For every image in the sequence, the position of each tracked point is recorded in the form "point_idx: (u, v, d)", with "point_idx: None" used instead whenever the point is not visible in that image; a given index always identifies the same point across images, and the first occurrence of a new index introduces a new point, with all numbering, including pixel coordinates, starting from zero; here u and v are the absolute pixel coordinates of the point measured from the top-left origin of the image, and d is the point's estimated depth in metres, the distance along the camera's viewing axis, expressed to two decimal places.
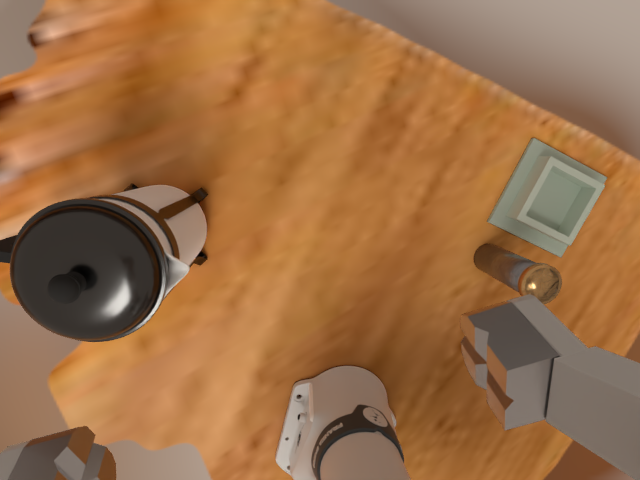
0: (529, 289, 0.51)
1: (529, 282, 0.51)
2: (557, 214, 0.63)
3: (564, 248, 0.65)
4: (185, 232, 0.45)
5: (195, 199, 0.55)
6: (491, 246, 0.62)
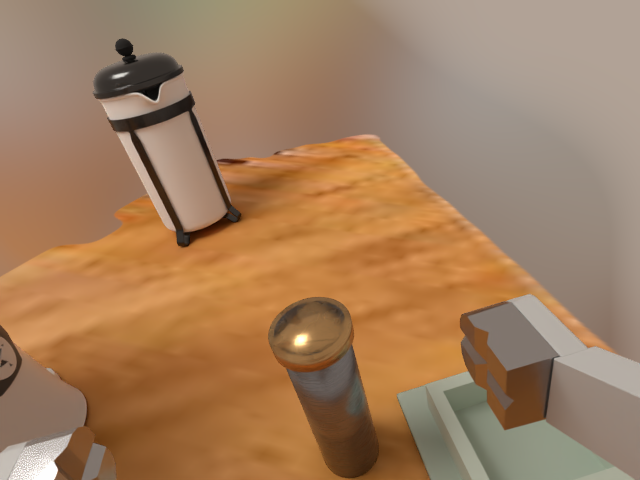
0: (288, 318, 0.26)
1: (299, 309, 0.26)
2: None
3: None
4: (189, 148, 0.60)
5: (227, 202, 0.67)
6: None
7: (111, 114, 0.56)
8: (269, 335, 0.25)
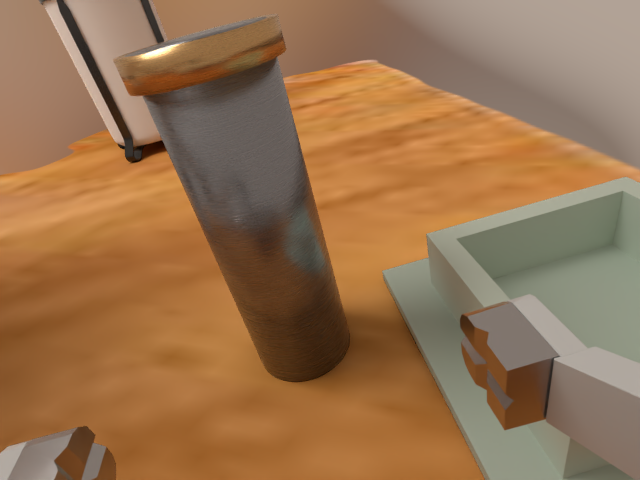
0: (167, 41, 0.14)
1: (191, 34, 0.14)
2: None
3: None
4: (135, 29, 0.48)
5: None
6: None
7: None
8: (120, 56, 0.13)
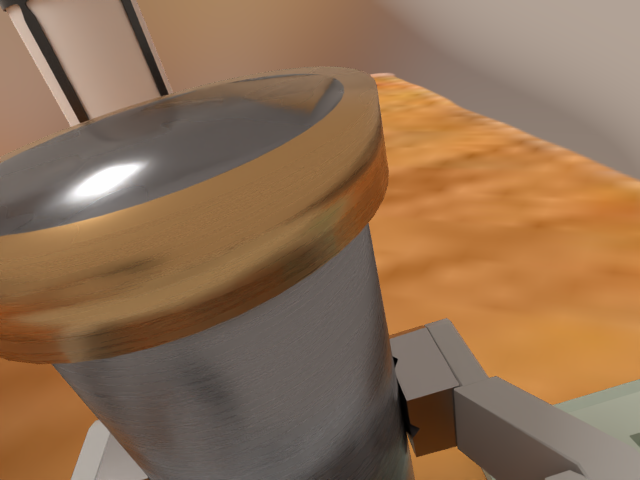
0: (93, 128, 0.06)
1: (153, 106, 0.06)
2: None
3: None
4: (117, 41, 0.40)
5: None
6: None
7: None
8: None
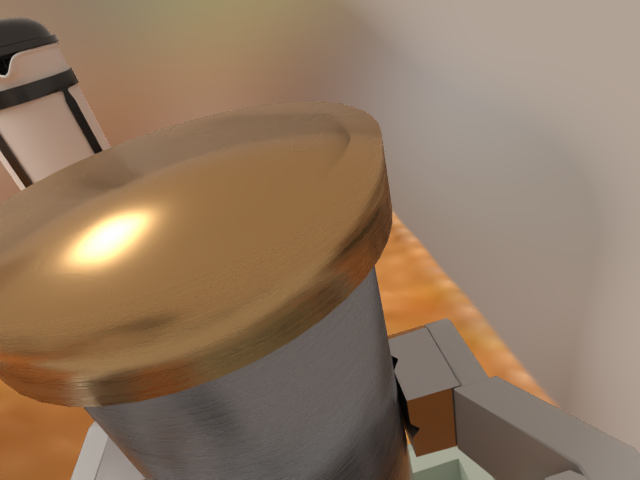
0: (107, 163, 0.06)
1: (164, 139, 0.06)
2: None
3: None
4: (65, 138, 0.48)
5: None
6: None
7: None
8: None
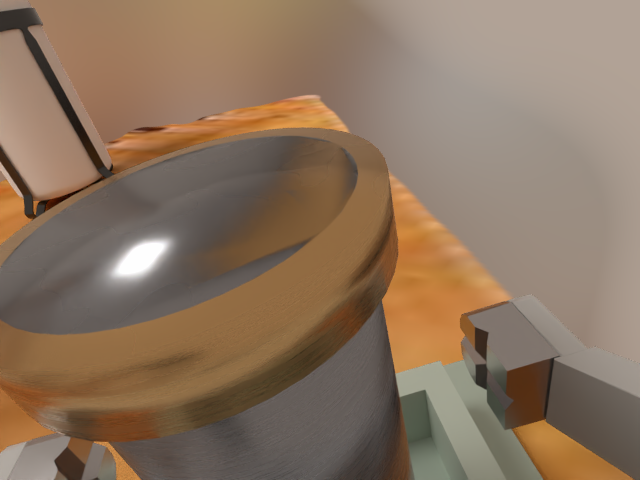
0: (120, 189, 0.06)
1: (174, 164, 0.07)
2: None
3: None
4: (25, 81, 0.44)
5: (97, 163, 0.51)
6: None
7: None
8: (1, 248, 0.05)
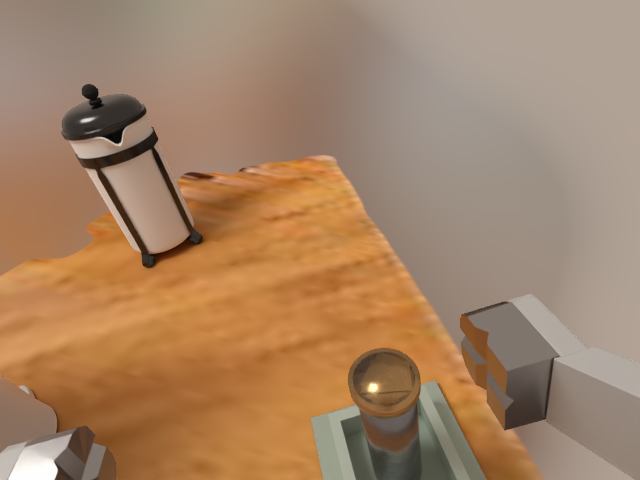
0: (363, 368, 0.30)
1: (371, 360, 0.31)
2: None
3: None
4: (152, 182, 0.66)
5: (189, 227, 0.74)
6: None
7: (78, 153, 0.62)
8: (349, 384, 0.29)
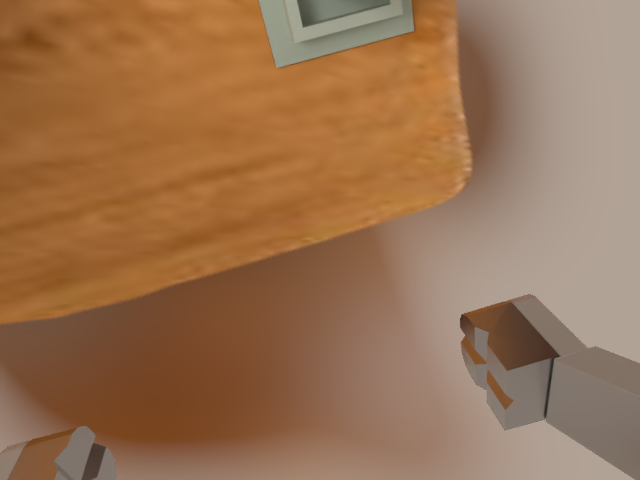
0: None
1: None
2: (323, 2, 0.37)
3: (290, 62, 0.39)
4: None
5: None
6: None
7: None
8: None
